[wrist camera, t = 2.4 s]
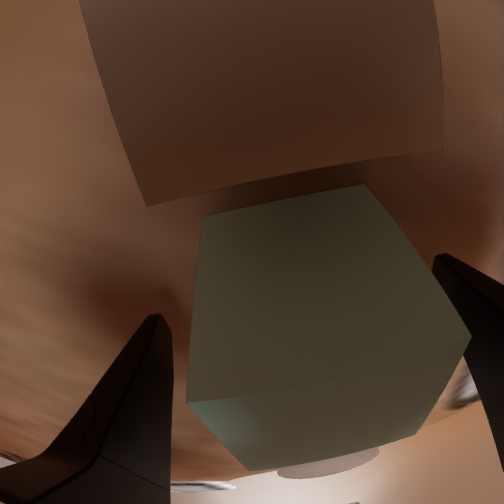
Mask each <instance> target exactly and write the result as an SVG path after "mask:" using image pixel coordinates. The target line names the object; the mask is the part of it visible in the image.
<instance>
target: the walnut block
mask: <svg viewBox="0 0 504 504" xmlns="http://www.w3.org/2000/svg"><path fill="white" fill-rule="evenodd" d="M79 1H80V5H81V9H82V13H83V17H84V21H85V25H86V29H87V33H88V36H89V40H90V43H91V47H92V51H93V54H94V57H95V61H96V64H97V68H98V71H99V74H100V77H101V81H102V84H103V87H104V90H105V93H106V96H107V99H108V103H109V106H110V109H111V112H112V115H113V117H114V120H115V123H116V126H117V129H118V132H119V135H120V138H121V140H122V143H123V146H124V149H125V151H126V154H127V157H128V159H129V162H130V165H131V167H132V170H133V173H134V175H135V178H136V180H137V183H138V186H139V188H140V191H141V193H142V196H143V198H144V201H145V203H146V206H147V207H148V206H151V205H155V204H159V203H163V202H166V201H170V200H174V199H178V198H182V197H186V196H190V195H194V194H198V193H203V192H207V191H211V190H215V189H220V188H224V187H228V186H233V185H237V184H242V183H246V182H251V181H256V180H260V179H265V178H270V177H275V176H280V175H285V174H290V173H295V172H301V171H306V170H311V169H317V168H322V167H328V166H334V165H340V164H346V163H352V162H358V161H365V160H371V159H378V158H385V157H392V156H399V155H407V154H415V153H423V152H431V151H440V150H443V86H442V68H441V56H440V46H439V37H438V29H437V22H436V15H435V9H434V3H433V0H79Z"/></svg>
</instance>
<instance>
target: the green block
mask: <svg viewBox="0 0 504 504" xmlns="http://www.w3.org/2000/svg"><path fill="white" fill-rule="evenodd" d="M471 337H472V336H471V334H470V332H469V331H468V329H467V327H466V326H465V324H464V322H463V321H462V319H461V317H460V316H459V314H458V312H457V311H456V309H455V307H454V306H453V304H452V303H451V301H450V299H449V298H448V296H447V295H446V293H445V292H444V290H443V289H442V287H441V285H440V284H439V282H438V281H437V279H436V278H435V276H434V275H433V273H432V272H431V271H430V269H429V268H428V266H427V265H426V263H425V262H424V260H423V259H422V258H421V256H420V255H419V253H418V252H417V251H416V249H415V248H414V246H413V245H412V244H411V242H410V241H409V240H408V238H407V237H406V236H405V234H404V233H403V232H402V230H401V229H400V228H399V226H398V225H397V224H396V222H395V221H394V220H393V218H392V217H391V216H390V215H389V213H388V212H387V211H386V209H385V208H384V207H383V206H382V204H381V203H380V202H379V201H378V200H377V198H376V197H375V196H374V195H373V193H372V192H371V191H370V190H369V189H368V187H367V186H366V185H365V184H362V185H356V186H350V187H345V188H339V189H334V190H329V191H323V192H318V193H313V194H308V195H303V196H297V197H292V198H287V199H283V200H278V201H273V202H268V203H263V204H258V205H254V206H249V207H244V208H240V209H235V210H231V211H226V212H222V213H217V214H213V215H208V216H204V217H203V220H202V228H201V236H200V245H199V253H198V262H197V271H196V281H195V291H194V301H193V312H192V323H191V335H190V347H189V361H188V375H187V391H186V403H187V405H188V406H189V407H190V408H191V409H192V410H193V412H194V413H195V414H196V415H197V416H198V417H199V419H200V420H201V421H202V422H203V423H204V424H205V425H206V426H207V427H208V429H209V430H210V431H211V432H212V433H213V434H214V435H215V436H216V437H217V438H218V439H219V441H220V442H221V443H222V444H223V445H224V446H225V447H226V448H227V449H228V450H229V451H230V452H231V453H232V454H233V455H234V456H235V457H236V458H237V459H238V460H239V461H240V462H241V463H242V464H243V465H244V466H245V467H246V468H247V469H248V470H249V471H257V470H266V469H273V468H281V467H287V466H294V465H300V464H305V463H311V462H316V461H321V460H326V459H331V458H335V457H340V456H344V455H348V454H352V453H356V452H360V451H363V450H367V449H371V448H374V447H378V446H381V445H384V444H387V443H391V442H394V441H397V440H400V439H403V438H406V437H409V436H412V435H414V434H416V433H417V431H418V430H419V428H420V427H421V425H422V424H423V422H424V421H425V419H426V418H427V416H428V415H429V413H430V412H431V410H432V409H433V407H434V405H435V404H436V402H437V400H438V399H439V397H440V395H441V394H442V392H443V390H444V389H445V387H446V385H447V383H448V382H449V380H450V378H451V376H452V374H453V373H454V371H455V369H456V367H457V365H458V363H459V361H460V359H461V357H462V355H463V354H464V352H465V349H466V347H467V345H468V343H469V341H470V339H471Z"/></svg>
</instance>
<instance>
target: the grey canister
mask: <svg viewBox="0 0 504 504" xmlns="http://www.w3.org/2000/svg"><path fill="white" fill-rule="evenodd" d="M378 453H379V448H378V447H374V448H371V449H367V450H363V451H360V452H356V453H352V454H348V455H344V456H340V457H335V458H331V459H326V460H321V461H316V462H311V463H305V464H300V465H294V466H287V467H281V468H277V473H278V475H279V476H281V477H284V478H292V479H304V478H314V477H322V476H327V475H331V474H336V473H340V472H343V471H346V470H349V469H352V468H355V467H358V466H360V465H362V464H364V463H366V462H368V461H370V460H372V459H373V458H374V457H376V456H377V455H378Z"/></svg>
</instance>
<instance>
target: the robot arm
mask: <svg viewBox="0 0 504 504" xmlns="http://www.w3.org/2000/svg"><path fill="white" fill-rule="evenodd" d="M432 273H433V275H434V276H435V278H436V279H437V281H438V282H439V284H440V285H441V287H442V289H443V290H444V292H445V293H446V295H447V296H448V298H449V299H450V301H451V303H452V304H453V306H454V307H455V309H456V311H457V312H458V314H459V316H460V317H461V319H462V321H463V322H464V324H465V326H466V327H467V329H468V331H469V332H470V334H471V336H472V337H471V339H470V341H469V343H468V345H467V347H466V349H465V352H464V354H463V356H464V358H465V361H466V363H467V365H468V368H469V370H470V373H471V375H472V378H473V380H474V383H475V385H476V388H477V390H478V393H479V396H480V398H481V401H482V404H483V407H484V409H485V412H486V415H487V418H488V420H489V421H488V422H489V425H490V428H491V431H492V434H493V438H494V441H495V444H496V447H497V451H498V454H499V458H500V462H501V465H502V469H503V472H504V285H502V284H501V283H499V282H497V281H496V280H494V279H492V278H490V277H489V276H487V275H485V274H484V273H482V272H480V271H478V270H477V269H475V268H473V267H471V266H469V265H468V264H466V263H464V262H462V261H460V260H459V259H457V258H455V257H453V256H451V255H449V254H447V253H443V254H439V255H436V256H435V258H434V262H433V268H432ZM173 385H174V368H173V346H172V332H171V329H170V328H169V326H168V324H167V322H166V321H165V319H164V317H163V316H162V314H160V313H157V314H151V315H148V316H147V318H146V319H145V320H144V321H143V323H142V324H141V325H140V327H139V328H138V329H137V331H136V332H135V333H134V335H133V336H132V337H131V339H130V340H129V341H128V343H127V344H126V345H125V347H124V348H123V350H122V351H121V352H120V354H119V355H118V356H117V358H116V359H115V360H114V362H113V363H112V364H111V366H110V367H109V369H108V370H107V371H106V373H105V374H104V375H103V377H102V378H101V380H100V381H99V382H98V384H97V385H96V387H95V388H94V389H93V391H92V394H90V395H89V396H88V398H87V399H86V401H85V402H84V403H83V405H82V406H81V407H80V409H79V410H78V412H77V413H76V414H75V415H74V417H73V418H72V419H71V420H70V422H69V423H68V424H67V425H66V426H65V428H64V429H63V430H62V431H61V432H60V434H59V435H58V436H57V437H56V438H55V440H54V441H53V442H52V443H51V444H50V446H49V447H48V448H47V449H46V450H45V451H44V452H43V453H41V454H40V455H38V456H36V457H34V458H31V459H28V460H25V461H22V462H19V463H16V464H13V465H9V466H6V467H3V468H0V502H1V503H0V504H171V503H170V502H171V499H170V463H171V426H172V403H173Z"/></svg>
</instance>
